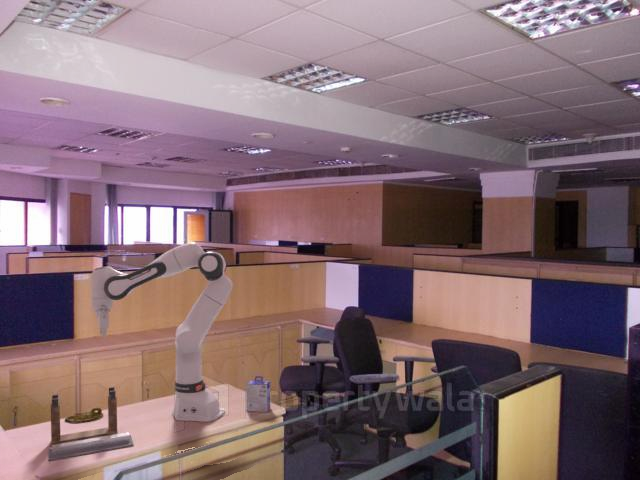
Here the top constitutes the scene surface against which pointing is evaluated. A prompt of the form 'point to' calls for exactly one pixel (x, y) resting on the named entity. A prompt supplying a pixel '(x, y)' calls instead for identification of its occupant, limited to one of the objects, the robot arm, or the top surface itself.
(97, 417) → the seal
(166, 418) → the top surface
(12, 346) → the top surface
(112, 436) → the rail
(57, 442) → the hook stand
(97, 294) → the robot arm
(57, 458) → the mat
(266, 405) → the ink cartridge box
